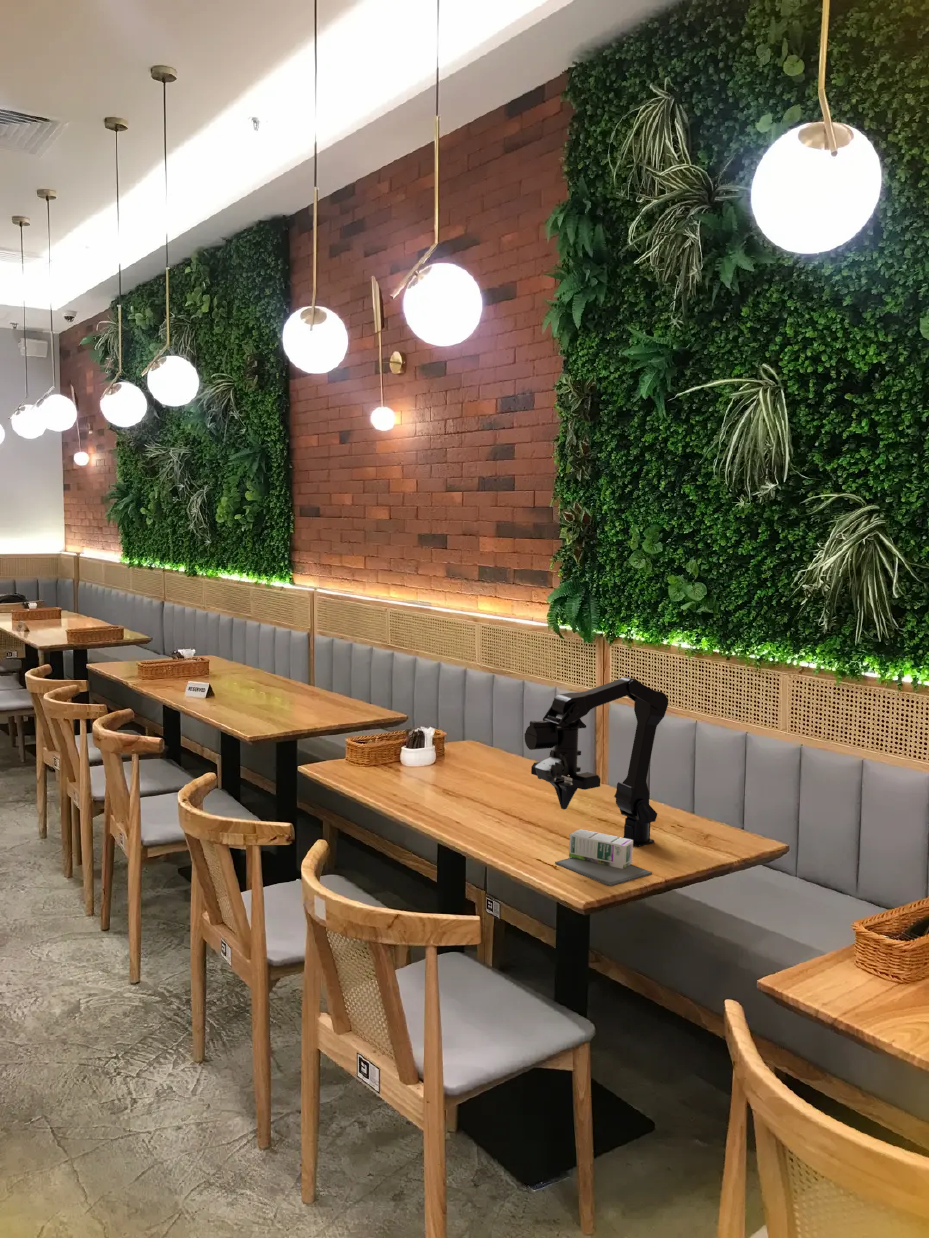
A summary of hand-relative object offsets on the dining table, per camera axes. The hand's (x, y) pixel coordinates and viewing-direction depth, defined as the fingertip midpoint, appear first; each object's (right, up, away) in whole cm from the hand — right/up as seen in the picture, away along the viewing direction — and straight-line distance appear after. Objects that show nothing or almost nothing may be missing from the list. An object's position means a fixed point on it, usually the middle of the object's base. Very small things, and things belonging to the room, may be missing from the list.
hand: (563, 808), depth 235 cm
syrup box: (+2, -8, -1) cm, 8 cm away
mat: (+8, -12, -10) cm, 18 cm away
